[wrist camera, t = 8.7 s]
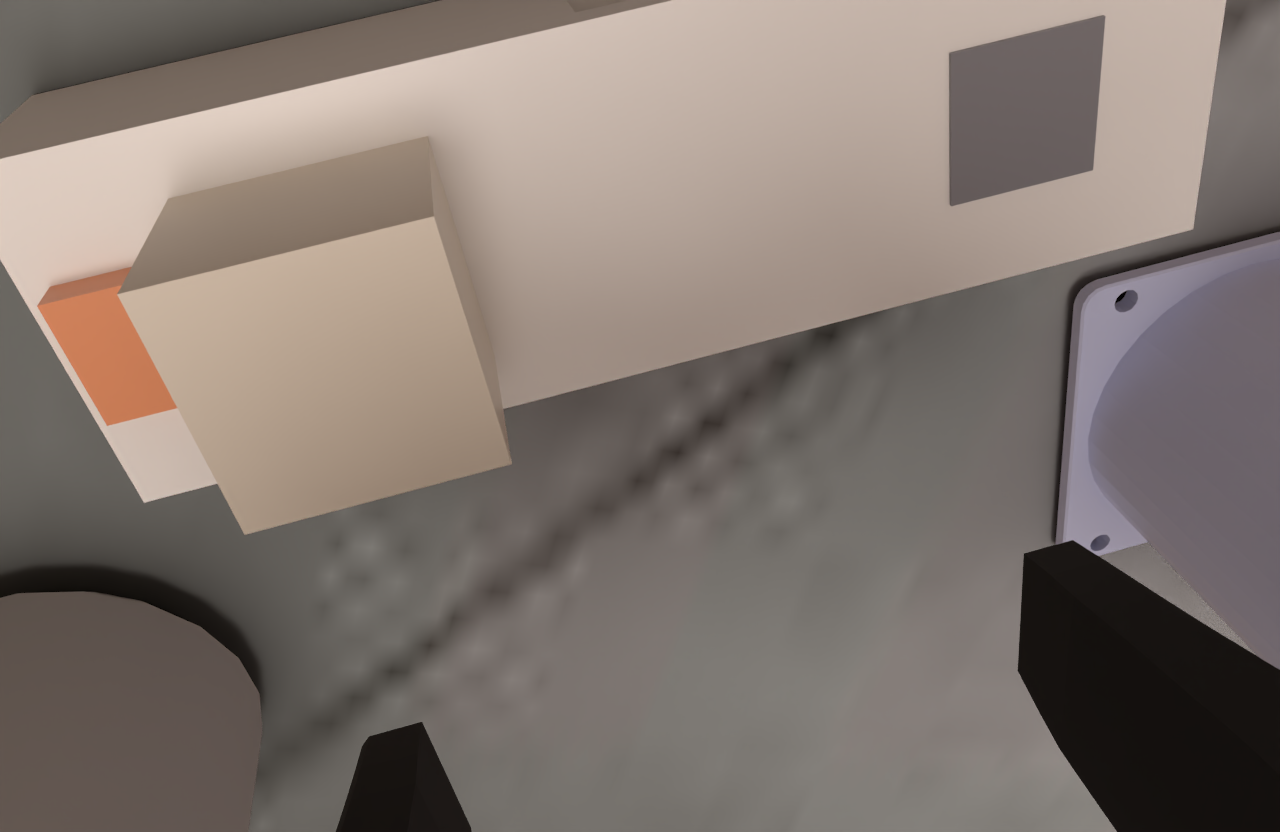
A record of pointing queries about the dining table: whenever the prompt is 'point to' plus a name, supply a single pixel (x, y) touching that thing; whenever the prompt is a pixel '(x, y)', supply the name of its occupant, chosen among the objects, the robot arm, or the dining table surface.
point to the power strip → (635, 169)
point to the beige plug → (321, 335)
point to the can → (121, 719)
